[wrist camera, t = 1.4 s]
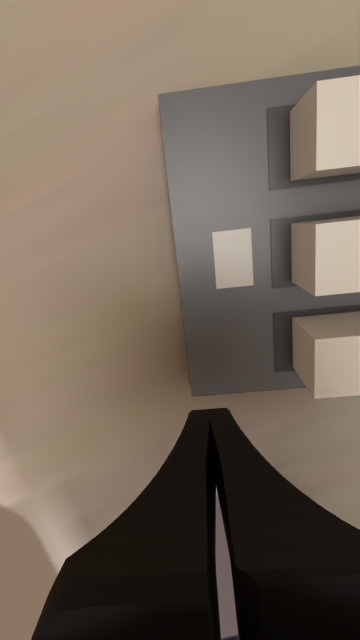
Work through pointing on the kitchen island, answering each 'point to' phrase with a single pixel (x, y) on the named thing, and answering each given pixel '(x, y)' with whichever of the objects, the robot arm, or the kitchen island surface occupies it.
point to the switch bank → (244, 228)
